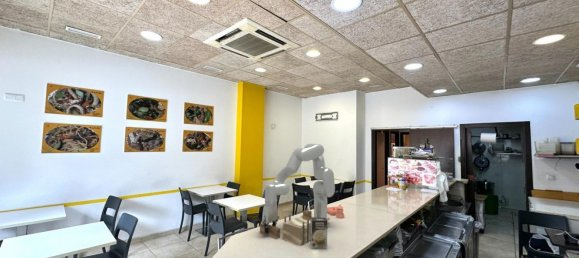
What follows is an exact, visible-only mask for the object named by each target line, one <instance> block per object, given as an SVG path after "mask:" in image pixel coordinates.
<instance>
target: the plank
mask: <svg viewBox="0 0 579 258" xmlns="http://www.w3.org/2000/svg"><path fill="white" fill-rule="evenodd" d="M266 225H267V223H266ZM268 227H269V234H266V233H265V227H264V226H263V225H262V224H261V223H259V234H261V235H265V236H267V237H269V238H272V239H274V240H278V239H281V227H277V226H276V227H275V226H272V224H269V225H268Z"/></svg>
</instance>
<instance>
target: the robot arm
mask: <svg viewBox="0 0 579 258" xmlns="http://www.w3.org/2000/svg"><path fill="white" fill-rule="evenodd" d="M324 153H325V148H324V146H323V145H322V144H319V143H307V144H305V146H304V148H300V147H299V148H295V149H293V152H292V153H291V155H290V156H289V159H288V161H287V163H286V165H285V167H283V168H282V169H281V170H280V171H279V173H277V174H276V176H275V178H274V180H273V182H272V183H267V184H265V186H264V206H263V208H262V209H263V210H262V218H261V222H260V224H262V225H263V226H264V227H265V233H266V234H269V227H268V225H270V223H272V224H271V225H272V226H275V227H277V225H278V221H279V219H280V216H279V215H278V214H279V211H278V210H279V209H278V204H277V202H278V199H277V197H278V196H286V195H288V194H289V193H290V186H289V185H288V184H287V183H285V181H287V179H288V178H289V177H291V176H293V175H295V174H296V173H297V172H298V170H299V169H300V166H301V165H302V163H303V162H309V161H312V167H313V169H312V170H313V177H314V178H315V179H316V180H317V181H315V182H314V183H313V185H312V192H313V217H322V218H326V219H327V221H328V224H327V228H329V227H330V223H329V221H330V220H331V217H328V213H327V207H328V198H332V197H333V196H334V194H335V190H336V185H335V175H334V172H333V170H332V168H329V167H326V162H325V158H324ZM266 224H267V225H266Z"/></svg>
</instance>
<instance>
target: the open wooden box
mask: <svg viewBox="0 0 579 258" xmlns="http://www.w3.org/2000/svg"><path fill="white" fill-rule="evenodd" d="M301 216H303V214H302V215H301ZM283 219H284V220H283V222H282V240H283V241H287V242H288V243H292V244H294V245H298V246H300V247H301V246H304V245H305V244H307V243H308V244H310V226H309V220H307V227H305V228H304V224H305V222H303V229H302V228H301V227H298V226H295V225H292V224H289V223H286V222H287V216H284V218H283ZM290 220H292V215H291V214H290V215H288V221H290Z"/></svg>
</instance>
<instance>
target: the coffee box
mask: <svg viewBox="0 0 579 258" xmlns="http://www.w3.org/2000/svg"><path fill="white" fill-rule="evenodd" d="M328 223H329V220H328V221H327V219H326V218H322V217H314V216H312V217H311V225H310V241H309V246H310V249H311V250H328V227H327V224H328Z"/></svg>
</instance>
